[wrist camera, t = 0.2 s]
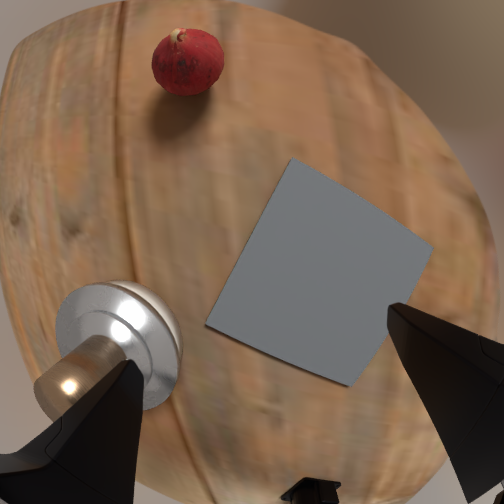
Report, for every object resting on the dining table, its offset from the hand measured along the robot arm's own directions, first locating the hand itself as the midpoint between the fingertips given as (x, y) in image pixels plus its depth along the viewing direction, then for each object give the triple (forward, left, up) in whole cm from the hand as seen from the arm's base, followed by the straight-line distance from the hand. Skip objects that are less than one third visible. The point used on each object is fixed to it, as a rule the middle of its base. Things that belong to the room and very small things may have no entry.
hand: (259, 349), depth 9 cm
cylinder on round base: (-12, +8, -11) cm, 18 cm away
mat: (+1, -6, -15) cm, 17 cm away
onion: (+12, +13, -16) cm, 24 cm away
